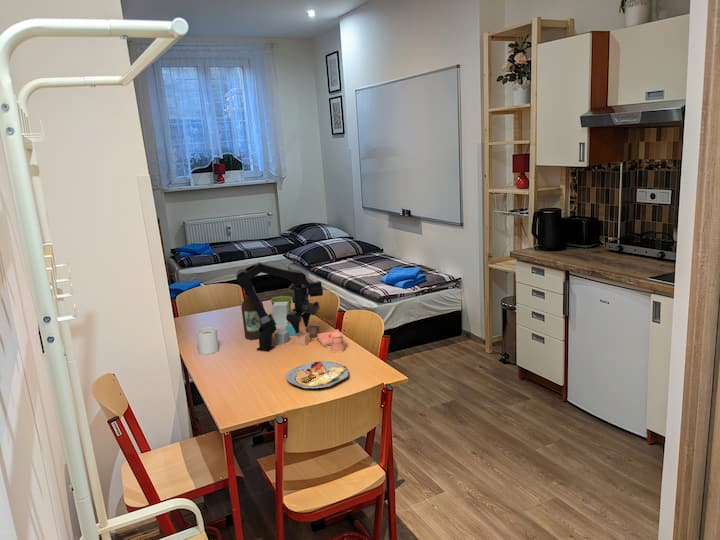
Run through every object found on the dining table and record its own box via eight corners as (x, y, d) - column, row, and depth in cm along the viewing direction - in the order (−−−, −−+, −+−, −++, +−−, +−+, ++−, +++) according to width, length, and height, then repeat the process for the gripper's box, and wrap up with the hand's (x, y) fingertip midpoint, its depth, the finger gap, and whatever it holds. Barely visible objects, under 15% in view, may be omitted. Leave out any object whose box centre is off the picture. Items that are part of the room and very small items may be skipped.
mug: (213, 355, 250) (211, 334, 247) (194, 354, 252) (191, 333, 249) (223, 346, 260) (221, 326, 258) (205, 345, 262) (203, 325, 260)
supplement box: (288, 329, 282) (286, 305, 279) (273, 329, 282) (271, 305, 279) (290, 324, 289) (288, 301, 286) (276, 324, 289) (274, 301, 286)
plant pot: (270, 317, 302) (268, 297, 300) (291, 314, 306) (290, 295, 303) (273, 323, 291) (272, 303, 289) (295, 321, 295) (294, 300, 292)
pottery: (317, 342, 262) (316, 322, 260) (335, 339, 266) (334, 319, 264) (330, 354, 246) (329, 333, 244) (350, 351, 250) (349, 330, 247)
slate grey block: (284, 344, 260) (283, 334, 259) (275, 343, 262) (274, 333, 261) (289, 341, 265) (288, 331, 264) (280, 340, 267) (279, 330, 265)
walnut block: (315, 338, 266) (315, 329, 265) (306, 338, 268) (305, 328, 267) (319, 335, 271) (319, 325, 270) (310, 334, 273) (310, 325, 272)
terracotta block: (305, 346, 256) (304, 336, 255) (295, 345, 258) (295, 335, 257) (310, 343, 261) (309, 333, 260) (300, 342, 263) (300, 332, 262)
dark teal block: (295, 336, 270) (294, 327, 269) (286, 336, 272) (285, 326, 271) (299, 333, 275) (299, 324, 274) (290, 332, 277) (290, 323, 275)
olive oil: (244, 334, 277) (240, 285, 271) (265, 332, 278) (262, 284, 272) (243, 341, 266) (238, 291, 261) (265, 339, 268) (261, 289, 262)
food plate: (318, 361, 238) (318, 353, 237) (360, 374, 224) (359, 366, 223) (275, 382, 220) (274, 374, 219) (317, 398, 205) (317, 390, 204)
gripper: (307, 304, 243) (308, 338, 247) (324, 293, 260) (325, 325, 264) (284, 302, 247) (286, 335, 250) (303, 292, 264) (304, 323, 267)
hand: (302, 329), depth 258 cm, fingers open, 9 cm apart
